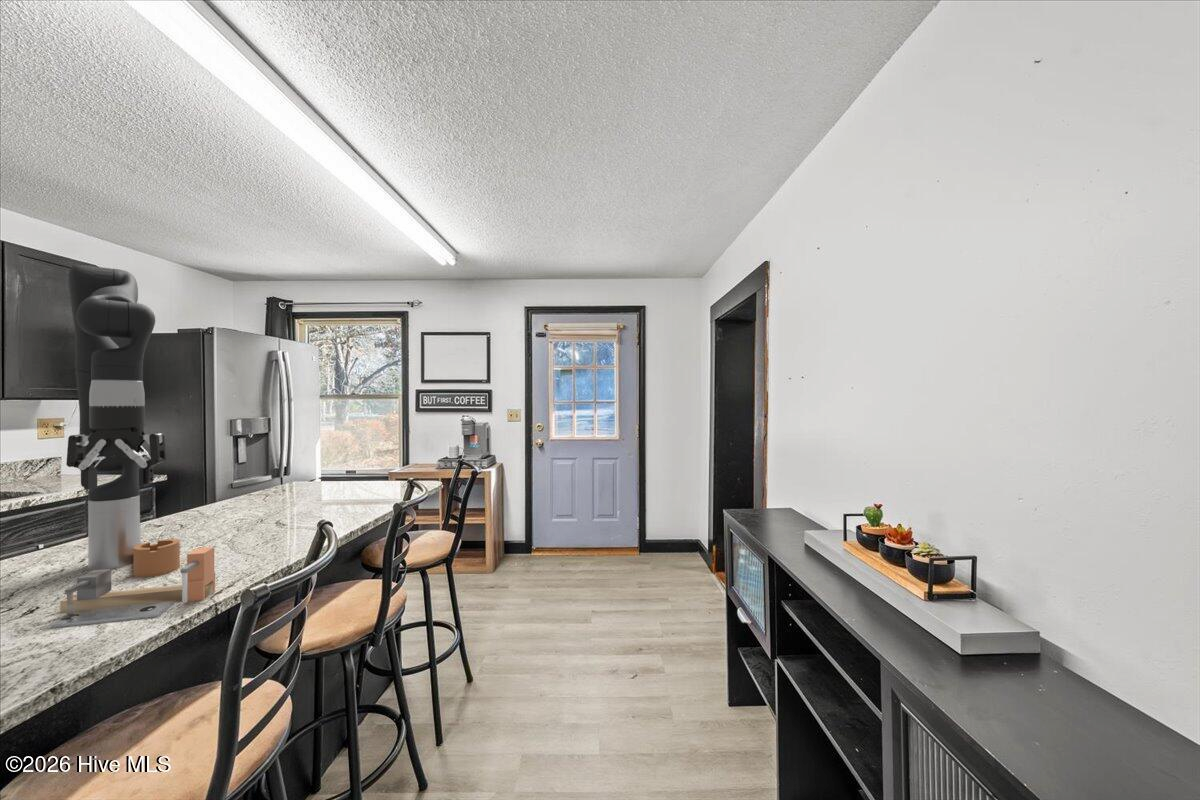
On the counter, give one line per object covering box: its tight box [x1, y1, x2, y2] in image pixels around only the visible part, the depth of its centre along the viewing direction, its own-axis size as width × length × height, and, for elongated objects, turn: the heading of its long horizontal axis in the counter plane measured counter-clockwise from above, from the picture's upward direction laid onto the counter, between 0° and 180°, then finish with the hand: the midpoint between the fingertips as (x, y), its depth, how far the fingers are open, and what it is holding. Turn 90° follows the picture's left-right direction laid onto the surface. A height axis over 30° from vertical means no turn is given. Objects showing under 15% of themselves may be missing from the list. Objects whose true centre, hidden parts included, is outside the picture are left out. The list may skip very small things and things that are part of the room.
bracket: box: [132, 538, 181, 578], centre depth 120 cm, size 18×8×7 cm, turn 43°
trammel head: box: [180, 546, 216, 604], centre depth 100 cm, size 10×3×10 cm, turn 17°
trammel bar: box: [59, 569, 214, 616], centre depth 96 cm, size 9×24×7 cm, turn 107°
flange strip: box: [49, 601, 176, 629], centre depth 92 cm, size 6×16×1 cm, turn 107°
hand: (117, 487), depth 91 cm, fingers open, 8 cm apart
